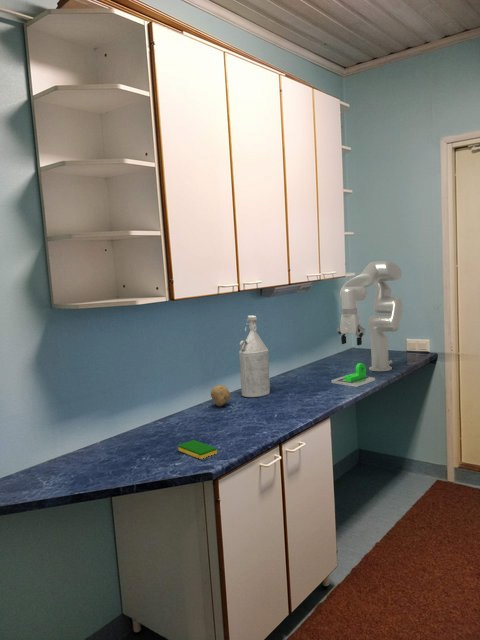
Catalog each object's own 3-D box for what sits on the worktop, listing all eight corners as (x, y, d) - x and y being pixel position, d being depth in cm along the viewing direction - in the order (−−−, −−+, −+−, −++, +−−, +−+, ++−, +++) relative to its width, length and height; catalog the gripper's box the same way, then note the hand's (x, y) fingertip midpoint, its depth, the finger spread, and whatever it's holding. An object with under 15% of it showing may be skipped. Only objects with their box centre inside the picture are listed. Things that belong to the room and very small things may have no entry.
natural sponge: (224, 402, 244) (223, 381, 243) (234, 405, 236) (233, 384, 236) (208, 406, 239) (206, 385, 238) (218, 409, 232) (216, 388, 231)
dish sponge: (194, 446, 187) (193, 439, 186) (217, 454, 176) (217, 447, 176) (178, 451, 182) (177, 444, 182) (201, 460, 171) (200, 453, 171)
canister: (234, 396, 253) (229, 317, 249) (257, 389, 266) (252, 313, 262) (254, 400, 244) (248, 318, 240) (276, 391, 257) (271, 314, 253)
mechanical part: (357, 376, 273) (356, 361, 272) (366, 377, 268) (365, 362, 267) (342, 380, 266) (341, 365, 265) (350, 381, 261) (350, 366, 260)
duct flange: (349, 377, 278) (349, 373, 278) (375, 380, 266) (374, 377, 266) (331, 382, 268) (331, 379, 268) (356, 386, 256) (356, 383, 256)
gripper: (331, 312, 267) (333, 344, 269) (359, 313, 254) (361, 346, 256) (340, 310, 272) (342, 342, 274) (368, 311, 259) (369, 344, 261)
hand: (351, 344), depth 265 cm, fingers open, 9 cm apart
